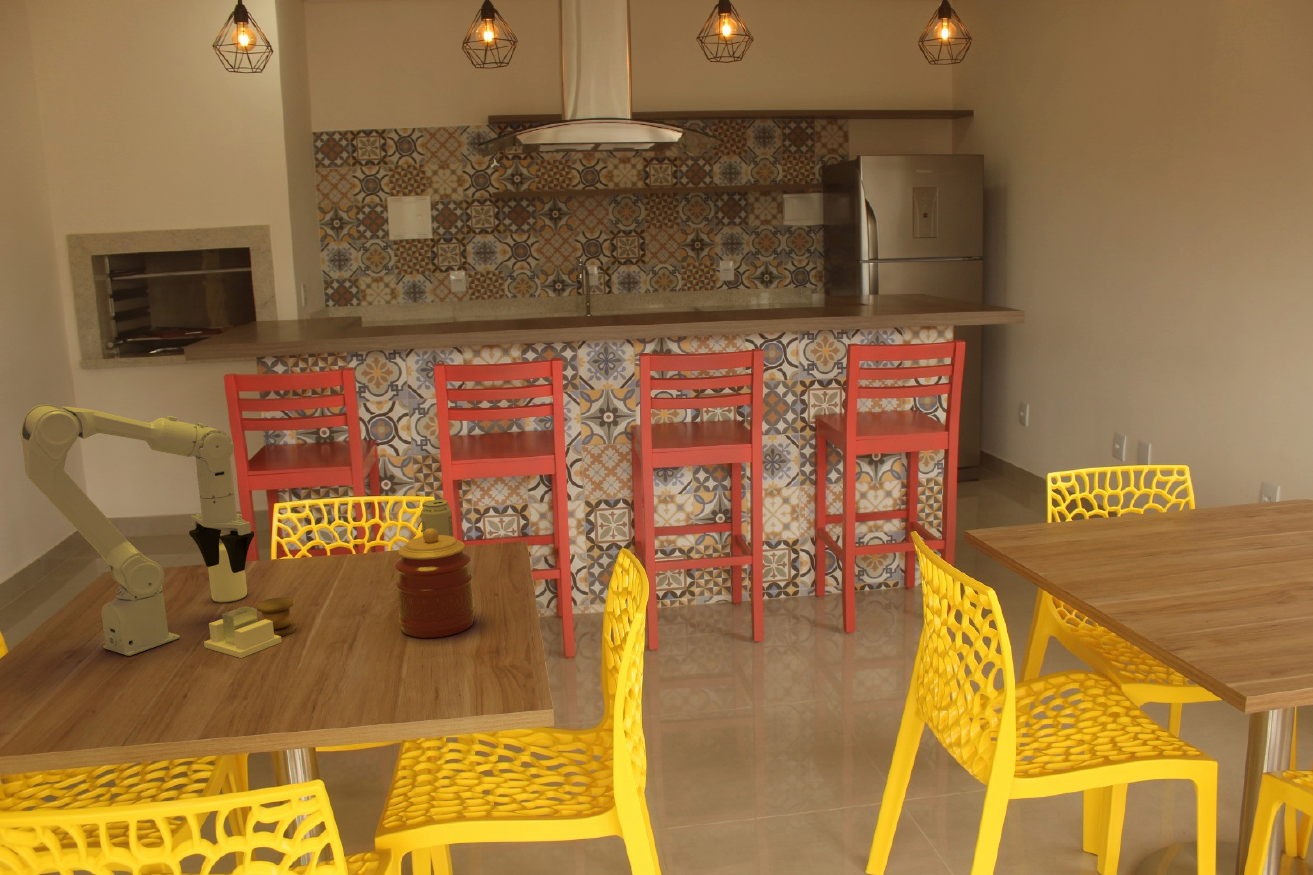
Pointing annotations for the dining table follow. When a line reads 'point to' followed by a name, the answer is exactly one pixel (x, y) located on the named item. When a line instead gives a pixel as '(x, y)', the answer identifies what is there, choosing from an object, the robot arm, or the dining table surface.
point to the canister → (434, 586)
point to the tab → (237, 621)
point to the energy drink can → (437, 517)
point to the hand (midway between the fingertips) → (225, 568)
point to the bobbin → (278, 615)
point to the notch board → (243, 638)
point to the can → (226, 579)
